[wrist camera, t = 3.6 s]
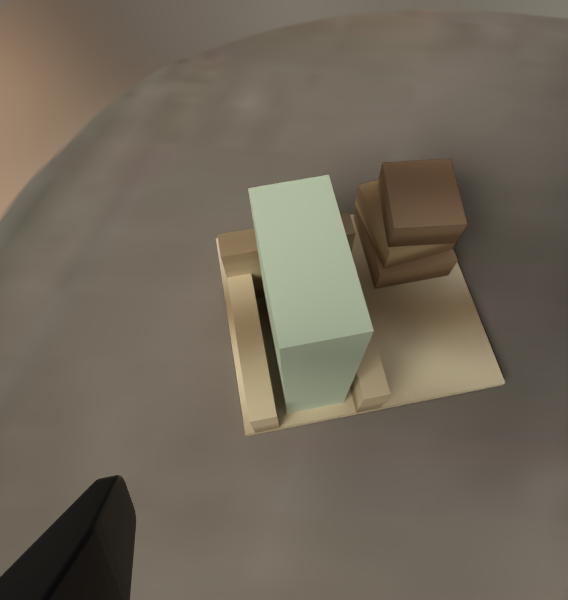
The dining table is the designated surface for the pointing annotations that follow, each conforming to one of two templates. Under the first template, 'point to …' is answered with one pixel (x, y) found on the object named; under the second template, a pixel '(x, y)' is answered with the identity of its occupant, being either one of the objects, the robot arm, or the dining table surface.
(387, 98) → the dining table surface
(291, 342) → the sage board
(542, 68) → the dining table surface
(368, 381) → the rack
